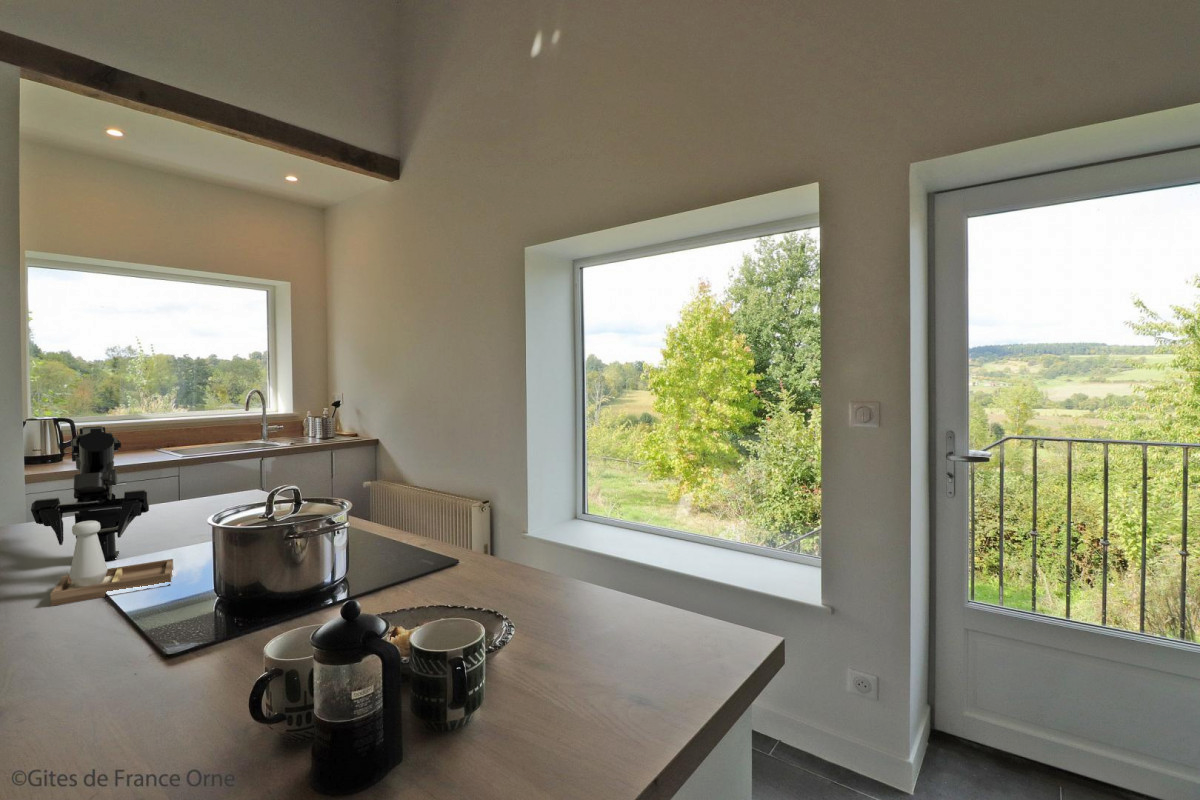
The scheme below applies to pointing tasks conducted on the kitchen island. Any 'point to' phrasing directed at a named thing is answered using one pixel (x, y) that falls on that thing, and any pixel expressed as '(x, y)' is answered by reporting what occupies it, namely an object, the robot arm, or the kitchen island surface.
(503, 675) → the kitchen island surface
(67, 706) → the kitchen island surface
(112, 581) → the brown flat rectangular tray
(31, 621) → the kitchen island surface
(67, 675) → the kitchen island surface
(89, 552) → the salt shaker
